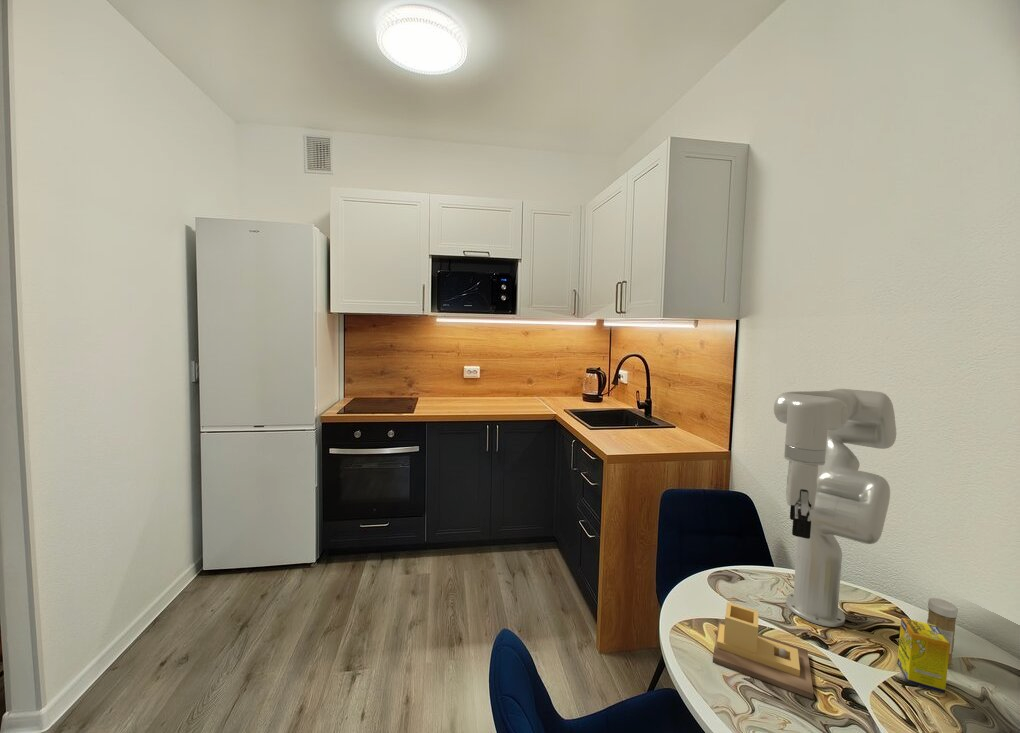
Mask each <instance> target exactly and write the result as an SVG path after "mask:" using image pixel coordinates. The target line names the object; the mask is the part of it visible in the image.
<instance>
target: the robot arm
mask: <svg viewBox="0 0 1020 733" xmlns="http://www.w3.org/2000/svg"><path fill="white" fill-rule="evenodd" d="M893 404H894V403H893V402H892V400H891V398H890V397H889V395H888V394H886V393H884V392H881V391H877V390H876V391H872V390H862V389H850V388H835V389H830V390H811V391H809V390H808V391H786V392H783V393H781V394H779V395H778V397H777V398H776V399H775V402H774V405H773V413H774V416H775V418H776V419H777V421H779V423H782V424H785V425H786V429H785V442H784V445H785V446H784V453H783V454H784V457H783V458H784V459H785V460H786V461H788V467H787V477H786V479H787V480H786V491H785V498H786V504H787V505H788V506H789V507H790V510H789V519H790V520H792V529H791V534H792V536H793V537H797V538H796V540H797V541H796V554H795V555H796V556H795V565H794V566H795V568H794V580H793V581H794V582H793V583H794V584H793V592H792V593H790V594H787V596H786V598H785V604H786V607H787V608H788V609H789V611H791V612H792V613H793V614H795V615H796V616H798V617H800V618H801V619H803V620H805V621H807V622H810V623H813V624H815V625H819V626H823V627H829V628H831V627H832V628H837V627H841V626H843V625H844V624H845V623H846V615H845V613H844V611H842V610H841V608H839V602H840V601H839V600H840V589H841V588H840V587H841V577H842V576H841V573H842V563H843V560H842V559H843V551H842V547H841V545H840V543H839V542H838V540H837V538H836V537H835V536H837V537H840V538H844V539H847V540H850V541H854V542H857V543H861V544H865V545H874V544H876V543H877V542H879V540H880V539H881V536H882V534H883V531H884V527H885V526H884V525H885V521H886V516H887V514H888V509H889V504H890V498H891V487H890V484H889V481H887V479H886V478H884V477H883V476H881V475H879V474H876V473H872V472H867V471H863V470H859V469H860V465H861V464H860V461H859V459H858V457H857V456H856V455H855V453H854V452H853V451H852V450H851V449H850V448H849V447H848V446H846V444H849V445H854V446H859V447H860V446H861V447H867V448H873V449H880V450H886V449H889V448H891V447H892V446H893V445H894V444H895V442H896V439H897V426H896V417H895V409H894V408H895V407H894V405H893Z"/></svg>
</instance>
